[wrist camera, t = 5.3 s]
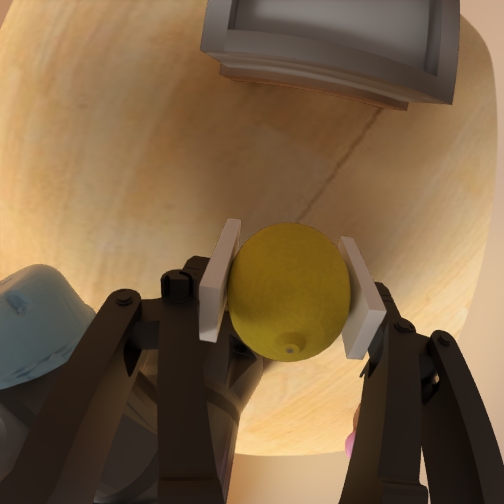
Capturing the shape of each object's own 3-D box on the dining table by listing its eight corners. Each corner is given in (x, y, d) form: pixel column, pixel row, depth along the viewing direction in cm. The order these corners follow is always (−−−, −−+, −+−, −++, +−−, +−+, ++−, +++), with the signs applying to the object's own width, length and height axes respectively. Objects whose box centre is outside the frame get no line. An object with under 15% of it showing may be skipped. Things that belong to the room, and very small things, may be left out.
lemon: (353, 229, 16) (398, 323, 9) (305, 301, 19) (312, 407, 12) (265, 183, 15) (251, 257, 8) (224, 265, 18) (191, 367, 11)
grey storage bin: (383, 108, 20) (458, 118, 10) (232, 80, 20) (186, 60, 10) (396, -14, 14) (460, -67, 4) (252, -43, 14) (228, -121, 4)
